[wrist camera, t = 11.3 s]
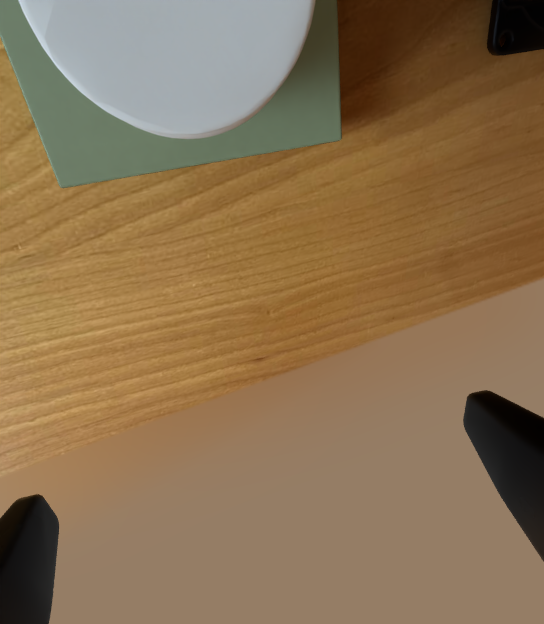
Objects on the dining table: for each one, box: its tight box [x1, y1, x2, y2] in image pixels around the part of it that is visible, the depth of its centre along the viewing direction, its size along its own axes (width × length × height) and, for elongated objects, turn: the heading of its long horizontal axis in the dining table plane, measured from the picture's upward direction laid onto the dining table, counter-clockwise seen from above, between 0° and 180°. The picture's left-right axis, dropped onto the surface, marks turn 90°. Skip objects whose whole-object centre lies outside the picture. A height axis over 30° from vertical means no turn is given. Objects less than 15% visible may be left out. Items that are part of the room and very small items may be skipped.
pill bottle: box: [18, 0, 316, 139], centre depth 9 cm, size 5×5×8 cm
